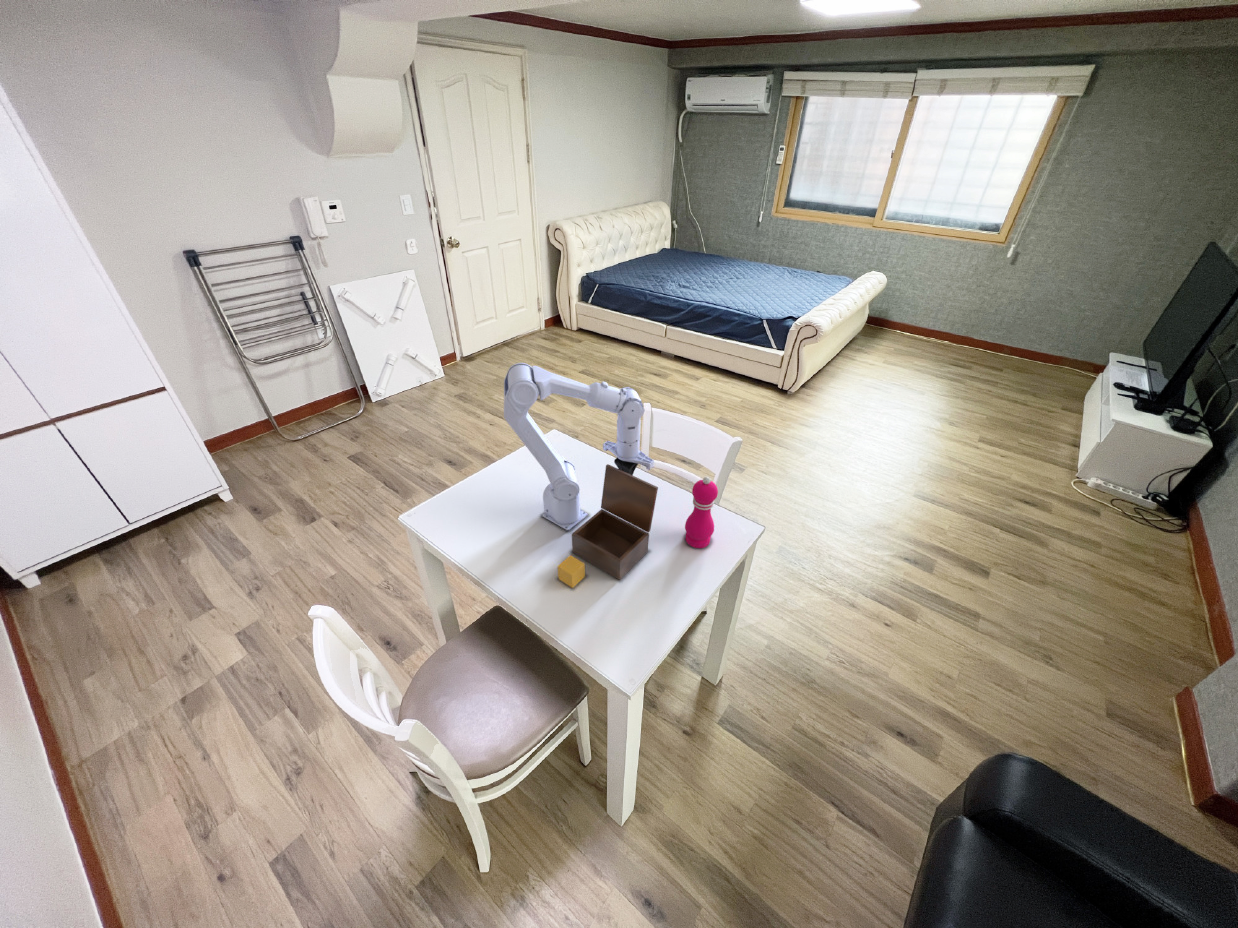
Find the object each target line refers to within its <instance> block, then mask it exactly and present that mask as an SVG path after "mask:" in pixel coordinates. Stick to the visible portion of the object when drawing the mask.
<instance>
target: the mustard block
mask: <svg viewBox="0 0 1238 928" xmlns="http://www.w3.org/2000/svg"><path fill="white" fill-rule="evenodd" d="M557 577H558V580H559V581H561V582H562V583H564V584H565V585H566V586H569V587H570V588H572V589H574V588H575V587H576V586H577V585H578V584H579V583H580V582H581V581H582V580H583V579H585V577H586V564H585V562H584V561H581V560H579V559H578V558H576V557H575V556H573V555H571V554H570V555H568V556H567V557H566V558H565V559H564V560H563V561H562V562H561V563H560V564H558V565H557Z"/></svg>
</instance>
